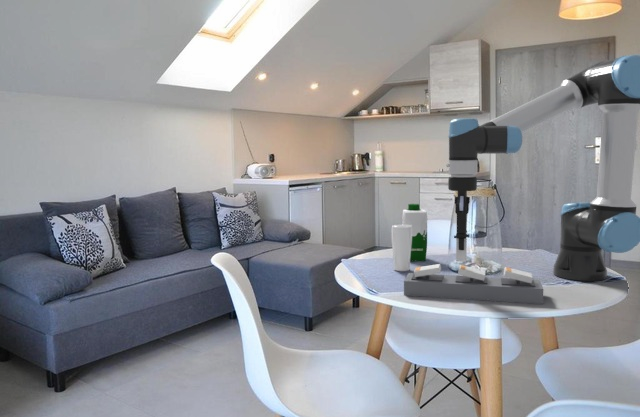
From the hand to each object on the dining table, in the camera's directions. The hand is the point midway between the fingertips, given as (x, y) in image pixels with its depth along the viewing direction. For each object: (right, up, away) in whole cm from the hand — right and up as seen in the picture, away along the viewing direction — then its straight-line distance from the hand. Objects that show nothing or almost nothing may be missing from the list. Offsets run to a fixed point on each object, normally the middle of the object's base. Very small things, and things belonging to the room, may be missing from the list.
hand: (461, 260), depth 149 cm
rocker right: (+14, -3, -4) cm, 15 cm away
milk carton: (-5, -4, +47) cm, 48 cm away
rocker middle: (+3, -3, 0) cm, 4 cm away
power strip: (+3, -9, 0) cm, 10 cm away
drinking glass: (-12, -6, +31) cm, 33 cm away
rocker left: (-9, -3, +3) cm, 10 cm away
